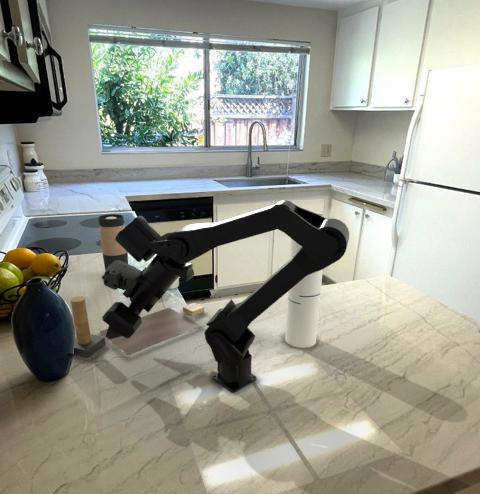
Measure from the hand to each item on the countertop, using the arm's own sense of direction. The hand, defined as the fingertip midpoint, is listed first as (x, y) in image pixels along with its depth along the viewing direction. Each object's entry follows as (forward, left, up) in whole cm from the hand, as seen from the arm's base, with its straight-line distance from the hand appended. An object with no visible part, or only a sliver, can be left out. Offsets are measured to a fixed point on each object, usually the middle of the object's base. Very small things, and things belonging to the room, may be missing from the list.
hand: (118, 325), depth 84 cm
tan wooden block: (+6, -24, -8) cm, 26 cm away
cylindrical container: (-21, -34, -8) cm, 41 cm away
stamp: (+7, +5, -8) cm, 11 cm away
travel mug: (+45, -22, -8) cm, 50 cm away
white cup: (+28, -30, -8) cm, 42 cm away
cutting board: (+5, -10, -8) cm, 14 cm away
